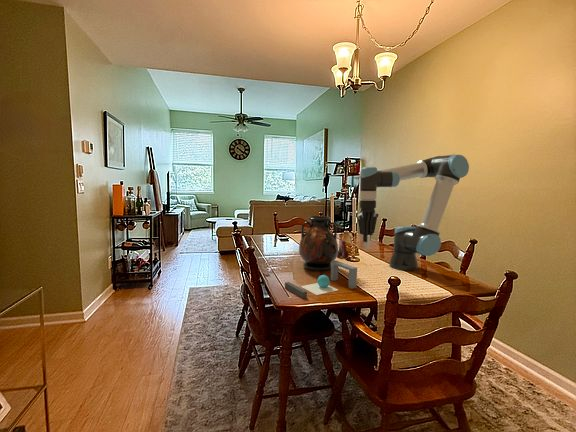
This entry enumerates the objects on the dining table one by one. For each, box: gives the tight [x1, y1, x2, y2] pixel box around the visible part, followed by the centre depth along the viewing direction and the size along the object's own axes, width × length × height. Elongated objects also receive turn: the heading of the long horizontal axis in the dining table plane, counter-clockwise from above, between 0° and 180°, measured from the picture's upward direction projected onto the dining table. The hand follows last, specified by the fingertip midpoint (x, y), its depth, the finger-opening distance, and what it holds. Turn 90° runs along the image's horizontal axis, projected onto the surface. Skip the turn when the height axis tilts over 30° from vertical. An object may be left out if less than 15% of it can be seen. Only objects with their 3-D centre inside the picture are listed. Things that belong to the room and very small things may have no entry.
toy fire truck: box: [336, 238, 350, 259], centre depth 197 cm, size 7×12×10 cm, turn 3°
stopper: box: [284, 281, 308, 299], centre depth 132 cm, size 2×14×2 cm, turn 32°
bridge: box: [329, 259, 358, 289], centre depth 145 cm, size 3×14×9 cm, turn 32°
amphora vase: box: [298, 215, 339, 272], centre depth 169 cm, size 22×22×28 cm
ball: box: [316, 274, 331, 288], centre depth 139 cm, size 6×6×6 cm
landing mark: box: [299, 282, 339, 296], centre depth 138 cm, size 12×12×1 cm
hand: (366, 248), depth 151 cm, fingers closed
